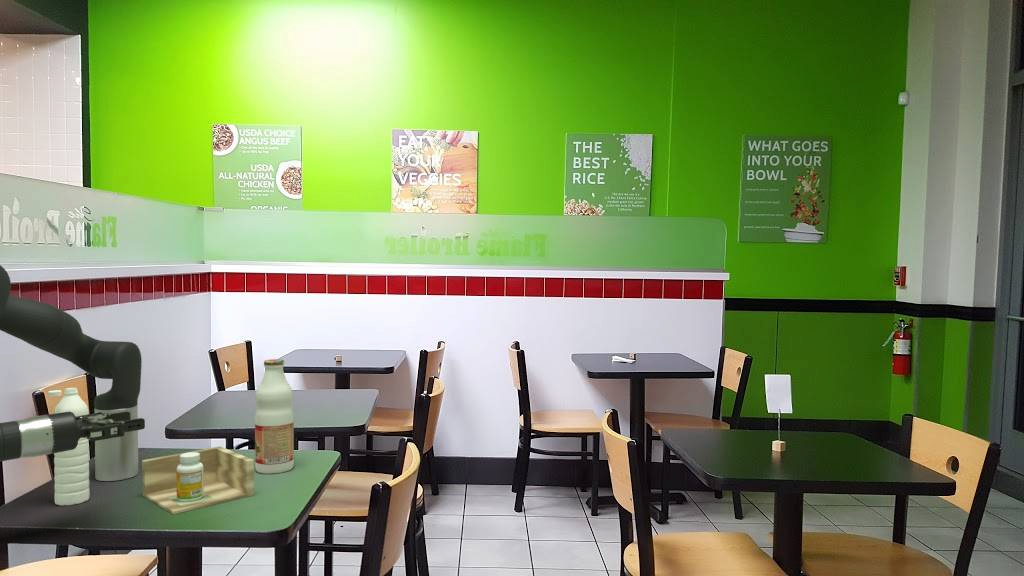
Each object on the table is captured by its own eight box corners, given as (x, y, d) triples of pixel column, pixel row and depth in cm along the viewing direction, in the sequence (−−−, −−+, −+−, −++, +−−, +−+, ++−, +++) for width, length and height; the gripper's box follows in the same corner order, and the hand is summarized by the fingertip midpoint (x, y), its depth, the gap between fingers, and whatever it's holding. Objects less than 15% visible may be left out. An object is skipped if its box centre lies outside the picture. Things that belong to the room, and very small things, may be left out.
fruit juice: (278, 476, 173) (278, 363, 172) (247, 472, 176) (246, 361, 175) (301, 466, 182) (300, 358, 181) (270, 462, 185) (270, 357, 184)
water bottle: (71, 495, 157) (70, 385, 157) (96, 497, 156) (95, 386, 155) (38, 508, 149) (36, 391, 148) (64, 510, 147) (63, 392, 147)
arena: (142, 495, 157) (142, 460, 157) (220, 479, 170) (219, 446, 170) (173, 514, 145) (172, 476, 145) (254, 495, 158) (253, 459, 158)
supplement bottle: (182, 494, 156) (182, 451, 156) (207, 494, 157) (206, 451, 156) (172, 502, 151) (172, 457, 150) (198, 502, 151) (198, 457, 151)
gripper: (55, 421, 129) (148, 407, 140) (35, 409, 138) (124, 396, 150) (56, 461, 129) (150, 444, 141) (36, 446, 139) (125, 431, 151)
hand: (136, 419), depth 146 cm, fingers open, 8 cm apart
